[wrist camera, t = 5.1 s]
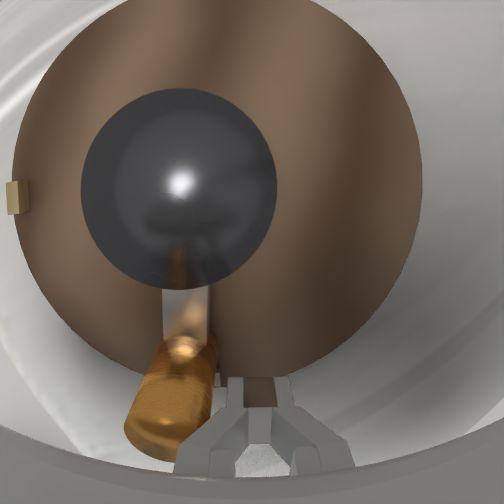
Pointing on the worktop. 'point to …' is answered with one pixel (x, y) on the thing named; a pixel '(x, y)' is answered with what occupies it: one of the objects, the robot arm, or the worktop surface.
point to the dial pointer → (178, 236)
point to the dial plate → (286, 163)
